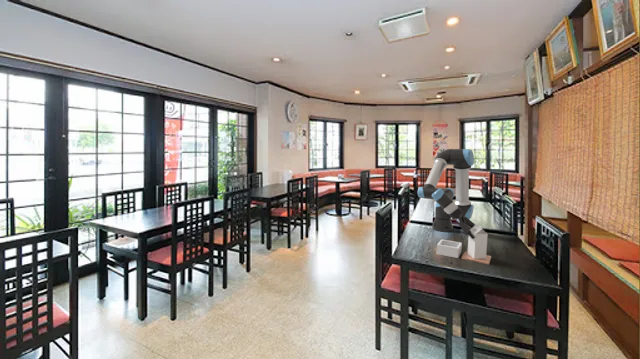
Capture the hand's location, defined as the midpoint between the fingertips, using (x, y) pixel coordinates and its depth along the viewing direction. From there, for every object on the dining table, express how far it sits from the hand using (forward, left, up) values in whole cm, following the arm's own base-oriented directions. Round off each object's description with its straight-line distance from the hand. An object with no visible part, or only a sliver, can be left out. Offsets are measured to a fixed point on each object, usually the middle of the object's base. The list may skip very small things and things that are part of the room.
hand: (480, 239), depth 166 cm
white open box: (0, -16, -12) cm, 20 cm away
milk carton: (0, -1, -11) cm, 11 cm away
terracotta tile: (0, -1, -12) cm, 12 cm away
